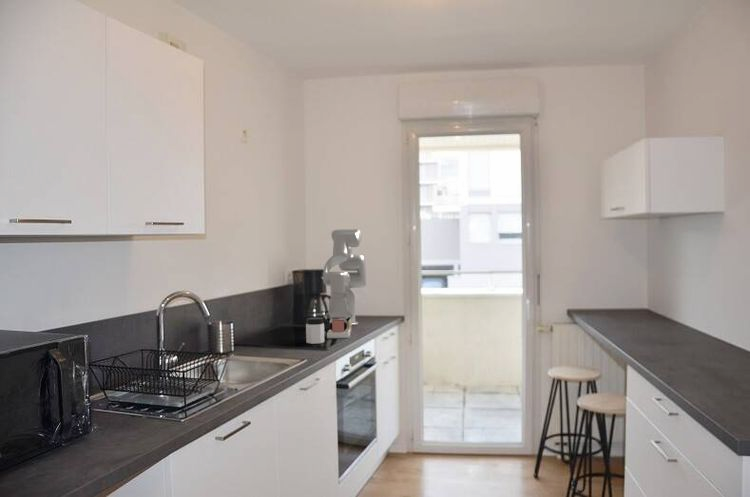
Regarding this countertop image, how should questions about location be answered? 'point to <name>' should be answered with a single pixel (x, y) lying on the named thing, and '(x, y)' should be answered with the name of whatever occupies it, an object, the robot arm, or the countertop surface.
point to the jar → (315, 330)
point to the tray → (338, 334)
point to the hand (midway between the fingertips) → (338, 329)
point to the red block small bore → (338, 325)
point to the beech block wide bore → (349, 325)
